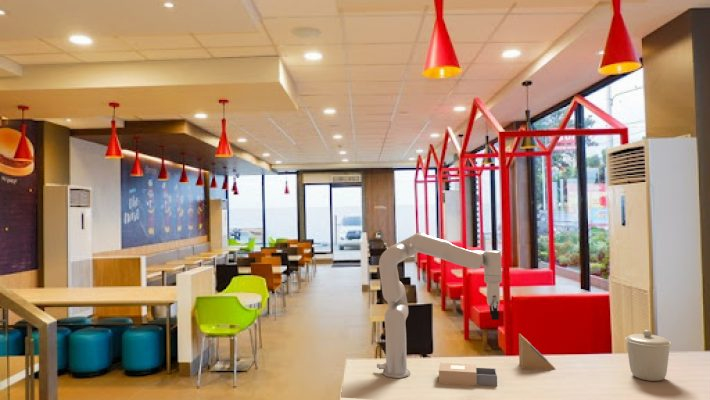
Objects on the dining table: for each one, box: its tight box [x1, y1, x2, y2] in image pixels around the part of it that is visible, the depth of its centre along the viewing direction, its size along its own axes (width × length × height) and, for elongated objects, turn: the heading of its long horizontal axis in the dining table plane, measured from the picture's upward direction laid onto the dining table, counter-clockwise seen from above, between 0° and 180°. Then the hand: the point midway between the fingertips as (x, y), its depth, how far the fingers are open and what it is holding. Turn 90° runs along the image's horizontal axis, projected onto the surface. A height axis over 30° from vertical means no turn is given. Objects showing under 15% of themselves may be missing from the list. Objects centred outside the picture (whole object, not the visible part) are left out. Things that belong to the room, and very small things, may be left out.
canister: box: [624, 329, 672, 382], centre depth 229 cm, size 18×18×21 cm
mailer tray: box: [476, 367, 498, 387], centre depth 226 cm, size 15×9×4 cm, turn 78°
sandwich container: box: [518, 333, 556, 371], centre depth 247 cm, size 9×15×15 cm, turn 84°
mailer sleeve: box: [438, 362, 478, 386], centre depth 228 cm, size 16×11×6 cm
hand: (494, 317), depth 228 cm, fingers open, 9 cm apart
